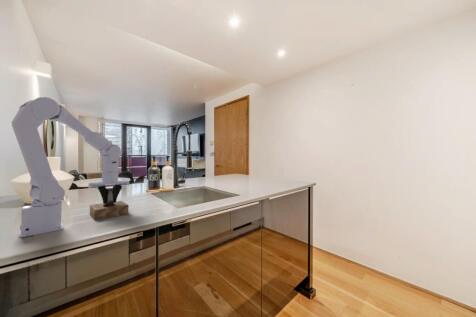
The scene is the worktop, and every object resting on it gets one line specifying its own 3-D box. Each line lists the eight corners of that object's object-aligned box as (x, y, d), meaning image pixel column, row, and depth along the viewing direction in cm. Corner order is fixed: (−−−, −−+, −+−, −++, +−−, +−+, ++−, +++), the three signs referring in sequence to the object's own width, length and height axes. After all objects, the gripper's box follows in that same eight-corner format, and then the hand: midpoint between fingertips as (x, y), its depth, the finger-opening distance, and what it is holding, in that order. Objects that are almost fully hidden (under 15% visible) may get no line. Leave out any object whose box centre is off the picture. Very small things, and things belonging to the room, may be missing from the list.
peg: (106, 210, 78) (106, 189, 78) (104, 208, 80) (105, 188, 80) (114, 209, 80) (115, 188, 80) (112, 207, 82) (113, 187, 82)
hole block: (94, 220, 72) (94, 210, 72) (89, 214, 79) (89, 205, 79) (128, 214, 81) (128, 205, 81) (121, 209, 88) (121, 200, 88)
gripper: (90, 173, 72) (90, 207, 72) (131, 171, 82) (131, 202, 83) (87, 171, 77) (87, 204, 77) (126, 170, 87) (126, 199, 87)
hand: (109, 202), depth 80 cm, fingers closed on peg, 3 cm apart
